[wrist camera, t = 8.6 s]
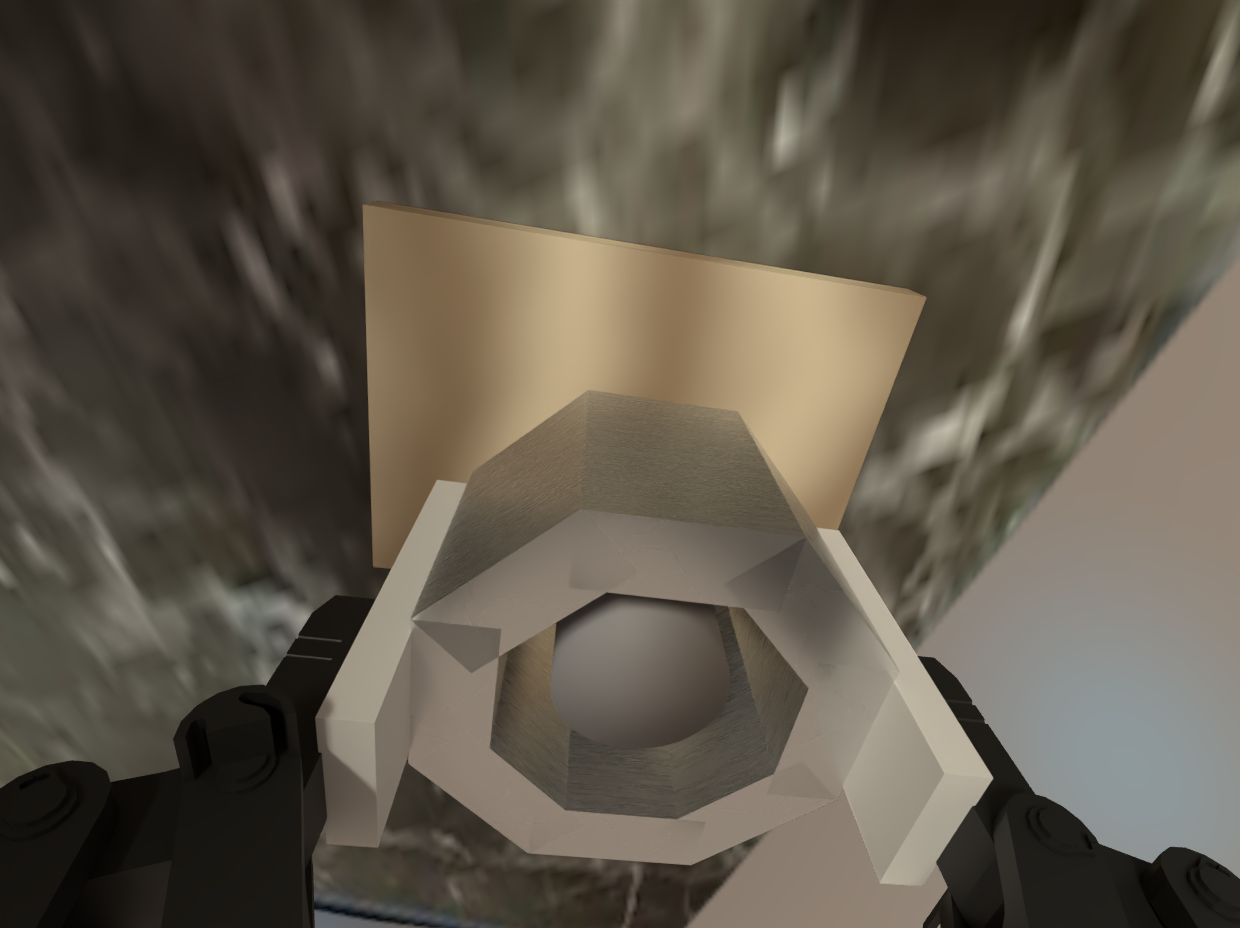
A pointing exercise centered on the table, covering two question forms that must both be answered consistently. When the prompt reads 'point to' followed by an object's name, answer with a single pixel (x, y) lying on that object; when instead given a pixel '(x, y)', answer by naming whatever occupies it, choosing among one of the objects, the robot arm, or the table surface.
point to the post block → (622, 364)
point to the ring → (651, 567)
